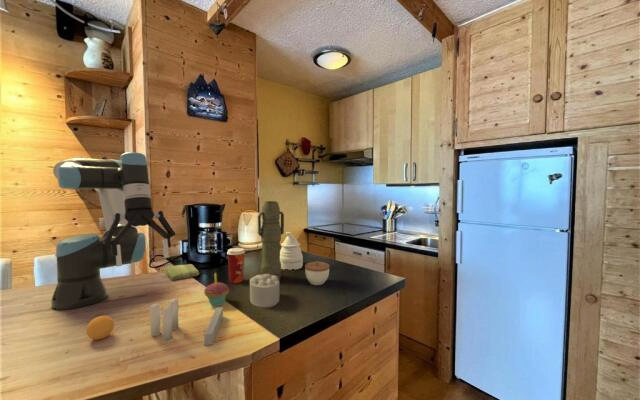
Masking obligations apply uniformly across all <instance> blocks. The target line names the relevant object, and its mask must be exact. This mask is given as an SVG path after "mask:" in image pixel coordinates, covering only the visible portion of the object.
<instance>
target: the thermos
mask: <svg viewBox="0 0 640 400" xmlns="http://www.w3.org/2000/svg"><path fill="white" fill-rule="evenodd" d="M261 210H262V211H261V212H259V213H258V215H257V234H258V235H259V237H260V241H261V264H260V275H263V274H270V275H275V276H277V277H278V280H279V281H280V280H281V278H282V276H281V274H282V269H281V262H280V250H281V240H282V235H284V234H285V233H284V232H285V213H284V212H283V211H281V209H280V205H279V202H278V201H275V200H273V201H271V200H270V201H267V200H266V201H265V202H263V205H262V209H261Z"/></svg>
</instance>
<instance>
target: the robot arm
mask: <svg viewBox="0 0 640 400" xmlns="http://www.w3.org/2000/svg"><path fill="white" fill-rule="evenodd" d="M52 171H53V176H54V178H56V179H57V183H58V186H59V188H60V189H63V190H88V189H89V190H93V189H94V191H96V192H98V196H99V201H100V205H101V210H102V215H103V221H104V226H105V229H106V230H105V231H104V233H103V235H102V236H101V237H100V235H99V234H97V233H89V234H83V235H76V236H72V237H68V238H66V239H62V240H60V241H59V242H57V244H56V245H55V248H56V249H55V258H56V276H57V279H56V280H57V283H56V286H55V290H54V292H53V294H52V297H51V300H50V301H51V308H52V307H53V309H54V308H56V309H55V310H73V309H78V308H84V307H86V306H90V305H93V304H96V303H99V302H100V301H103V300H104V299H105V298H107V296H108V295H107V294H108V293H107V287H106V286H105V283H104V281H103V280H102V278H101V269H106V268H114V267H117V268H118V267H122V266H123V265H124V266H125V265H131V264H133V263H138V262H141V261H142V260H144V258H145V255H146V247H147V246H146V245H147V244H146V243H147V241H146V240H147V239H146V235H145V233H143V232H138V228H137V227H139V226H140V227H145V226H149V227H150V228H151V229H153V230H154V231H155V232H156V233H158V235H160V236H161V237H162V238H163V239H162V240H161V241H162V251H163V258H164V259H167V258H168V259H169V258H170V250H169V249H170V248H171V247H172V246H171V245H172V244H171V242H172V241H171V238H172V237H174V236H176V232H175V231H174V229H173V228H172V226H171V224H170V223H169V221H167V219H166V217H165V216H164V212H163V211H162V210H159V211H153V206H152V205H153V204H152V199H151V198H150V197H151V189H150V188H151V187H150V181H149V171H148V161H147V157H146V155H145V154H143V153H141V152H135V151H133V152H131V151H130V152H124V153H122V154H121V155H120V158H119V160H118V159H111V158H110V159H105V158H104V159H102V158H100V159H99V158H85V157H74V158H67V159H64V160H61V161H59V162H57V163H56V164H55V165H54V166H53V170H52ZM154 217H155V218H156V219H157V220H158V222H159V223H160V224H161V226H162V227H161V226H160V225H159V224H157V223H156V221H155V220H153V218H154Z"/></svg>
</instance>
